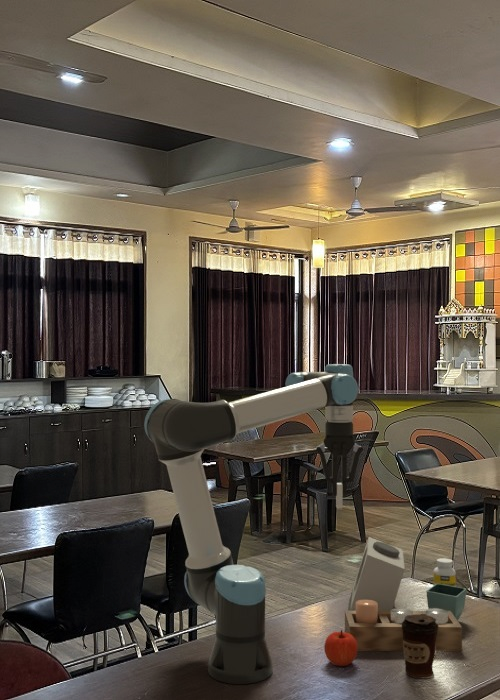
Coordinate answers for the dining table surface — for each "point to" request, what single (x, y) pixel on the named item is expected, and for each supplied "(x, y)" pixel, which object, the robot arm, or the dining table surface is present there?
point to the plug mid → (399, 614)
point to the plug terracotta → (366, 611)
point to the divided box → (398, 633)
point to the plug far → (438, 615)
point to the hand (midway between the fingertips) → (339, 507)
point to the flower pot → (447, 598)
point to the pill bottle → (445, 572)
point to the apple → (340, 648)
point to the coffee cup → (419, 644)
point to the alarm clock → (378, 575)
